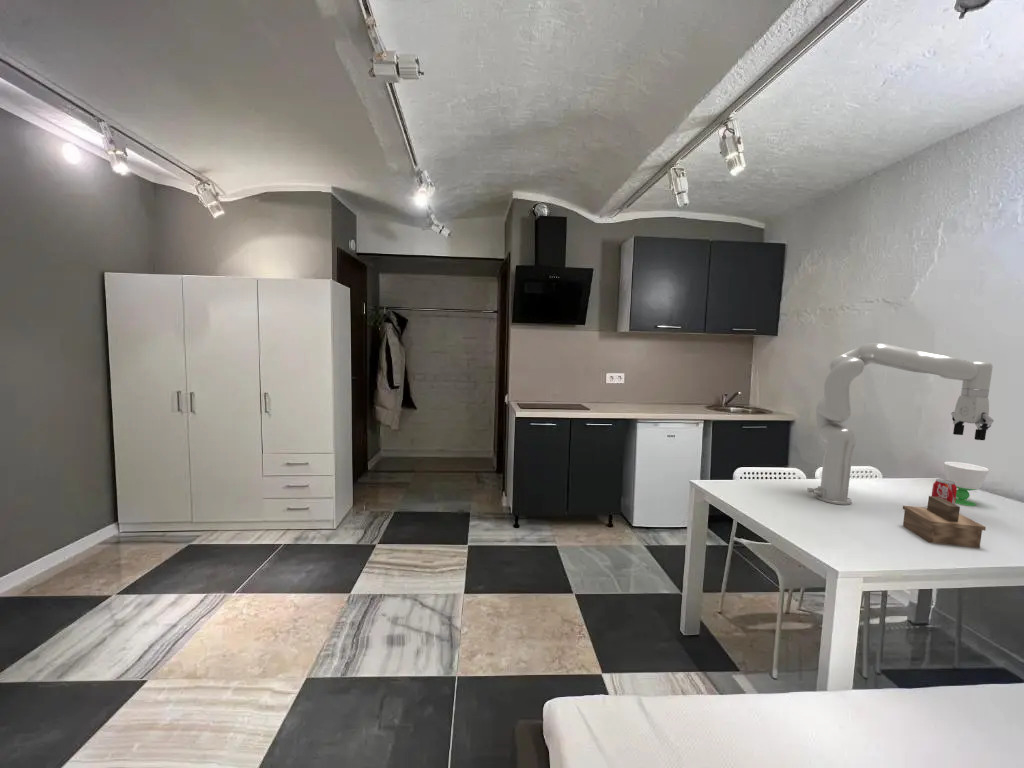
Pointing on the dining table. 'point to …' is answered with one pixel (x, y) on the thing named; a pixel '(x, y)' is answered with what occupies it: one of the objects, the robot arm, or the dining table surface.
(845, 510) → the dining table surface
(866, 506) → the dining table surface
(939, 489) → the soda can
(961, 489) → the white green footed bowl
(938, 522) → the lid
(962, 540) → the box
